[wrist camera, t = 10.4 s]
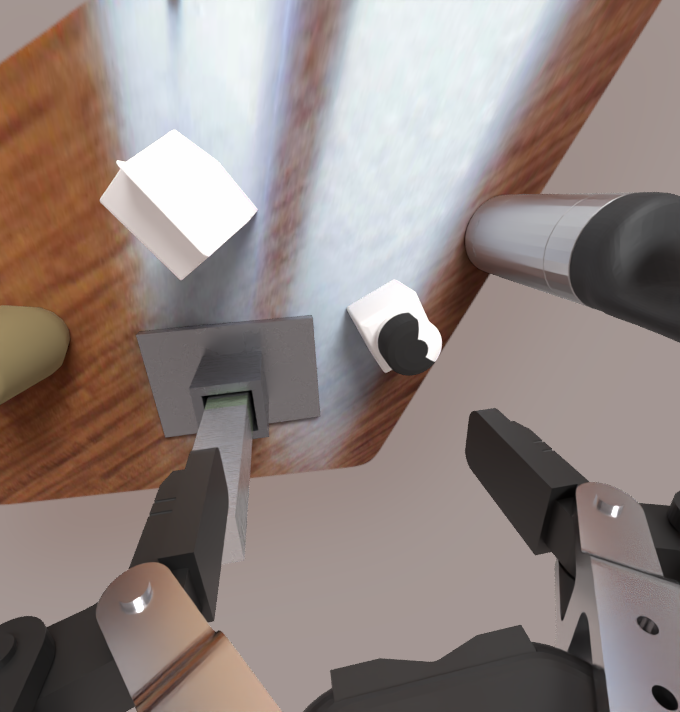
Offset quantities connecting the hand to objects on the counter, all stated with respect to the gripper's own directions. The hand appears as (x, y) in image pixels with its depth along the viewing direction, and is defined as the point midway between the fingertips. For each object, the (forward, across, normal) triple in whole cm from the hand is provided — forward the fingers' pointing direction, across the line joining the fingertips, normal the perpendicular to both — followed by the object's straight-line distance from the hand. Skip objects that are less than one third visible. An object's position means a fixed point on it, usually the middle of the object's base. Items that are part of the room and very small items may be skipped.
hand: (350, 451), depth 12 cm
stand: (+34, +8, +13) cm, 37 cm away
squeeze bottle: (+34, +28, +5) cm, 45 cm away
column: (+27, +8, +13) cm, 31 cm away
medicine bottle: (+34, -11, +7) cm, 37 cm away
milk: (+34, +7, -7) cm, 36 cm away
